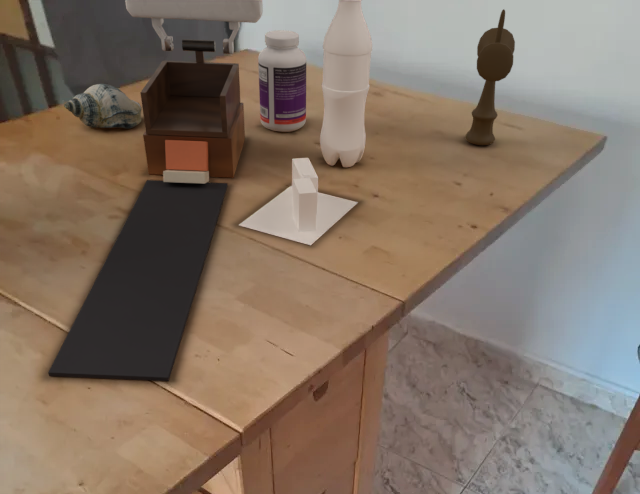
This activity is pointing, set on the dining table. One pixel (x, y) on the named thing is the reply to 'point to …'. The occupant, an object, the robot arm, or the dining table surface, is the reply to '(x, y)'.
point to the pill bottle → (282, 82)
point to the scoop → (192, 95)
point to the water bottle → (345, 84)
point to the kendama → (490, 79)
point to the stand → (219, 149)
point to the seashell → (105, 108)
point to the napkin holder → (300, 208)
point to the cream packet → (186, 176)
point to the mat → (144, 286)
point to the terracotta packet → (186, 155)
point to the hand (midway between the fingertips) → (198, 51)
